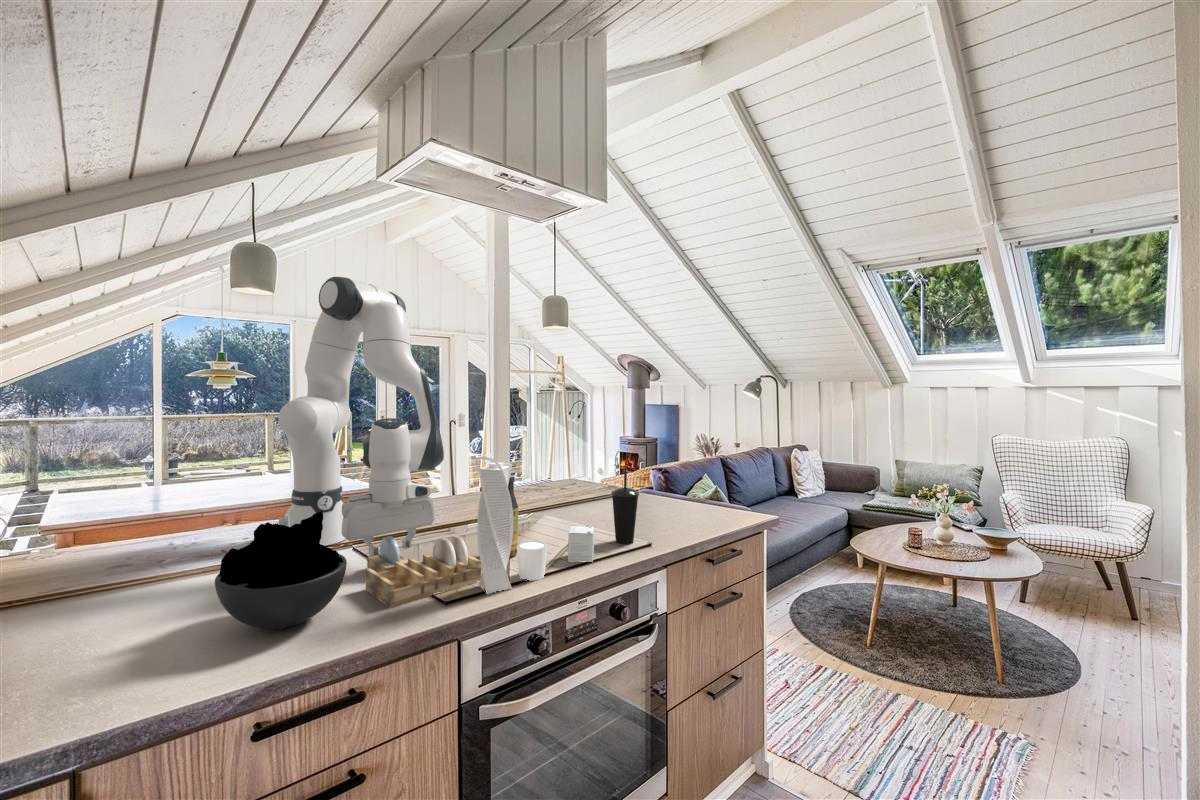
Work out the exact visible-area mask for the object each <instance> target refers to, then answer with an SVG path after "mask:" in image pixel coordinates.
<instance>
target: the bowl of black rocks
mask: <svg viewBox="0 0 1200 800" xmlns="http://www.w3.org/2000/svg"><path fill="white" fill-rule="evenodd" d="M323 519H324V518H323V512H322V511H321V512H318V513H315V514H313V515H312V517H309V518H307V519H304V520H301V523H300V524H294V525H293V526H291V527H289V526H285V525H279V523H270V522H268V521H267V522H265V523H260V524H259V525H258V526H257V527H256V528H255V530H254V531H253V540H252V541H251V542H249V544H247V545H246V546H242V547H241V548H238V549H236V548H234V547H233V548H230V549H229V550H228V551H227V552H226V554H224V556H223V557H222V559H221V561H220V567H219V568H220V570H219V572H218V574H217V575H216V576H215V578H214V587H215V593H216V595H217V598H218V601H219V602H220V604H221V605H222V607H223V608H224V610H225V611H226V612H227V613H228V614H229V615H231V617H233V618H234V619H235V620H236V621H238V622H240V623H242V624H244V625H246V626H249V627H252V628H256V629H261V630H262V629H263V630H280V629H285V628H289V627H293V626H296V625H300V624H301V623H304V622H306V621H308V620H310V619H312V618H313V617H314V616H316V615H317V614H318V613H320V612H321V611H322V610H324V608H326V607H327V606H328V604H330V602H331V601H332V600H334V599H333V598H334V597H335V596H336V595H337V594H338V592H339V590H340V588H341V586H342V584H343V581H344V578H345V574H346V572H347V571H346V570H347V563H348V562H347V558H346V557H345V556H344V555H342V554H340V553H339V552H338V551H337V550H334V549H332V548H331V547H326V546H327V545H325V546H324V545H321V544H320V540H321V535H322V530H323V524H322V521H323Z"/></svg>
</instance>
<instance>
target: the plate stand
mask: <svg viewBox="0 0 1200 800" xmlns="http://www.w3.org/2000/svg"><path fill="white" fill-rule="evenodd" d="M366 559H367V560H366V563H367V565H366V566H367V567H366V568H371V569H372V570H374V571H375V572H377V573H379V572H383V571H387V570H391V569H395V565H392V564H391V563H389V562H387V561H386V560H384V559H382V558H381V557H380V553H378V555H375V556H370V555H369V556H366ZM400 562H401V563H403V564H405V565H406V566H407V565H408V558H405V557H403V556H401V555H400Z"/></svg>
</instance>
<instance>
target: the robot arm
mask: <svg viewBox="0 0 1200 800" xmlns="http://www.w3.org/2000/svg"><path fill="white" fill-rule="evenodd" d="M318 303H319V307H320V309H321V313H320V314H319V317H318V319H317V321H316V324H315V327H314V330H313V332H312V335H311V338H310V344H309V348H308V352H307V356H306V361H305V365H304V372H305V375H306V379H307V394H306V396H300V397H296V398H294V399H292V400H290V401H288V402H287V403H286V404H284V405H283V406H282V407H281V409H280V411H279V413H278V417H277V418H278V419H277V421H278V426H279V427H280V429H281V431H282V432H284V434H285V436H286V438H287V440H288V444H289V448H290V451H291V455H292V460H293V489H292V492H291V499H290V500H291V501H290V502H291V504H290V507H289V508H288V510H287V511H285V513H284V516H283V517H281V516H280V517H278V524H279V525H285V526H289V527H291V526H293V525H294V524H300V523H301V520H304V519H307V518H309V517H312V515H313V514H315V513H318V512H321V511H322V512H323V518H324V519H323V521H322V524H323V530H322V535H321V540H320V544H321V545H324V546H329V545H334V544H338V543H340V542H343V541H344V540H347V541H349V542H351V541H357V540H362V539H363V542H364V543H365V545H366V547H367V548H368V555H369V556H375V555H378V554H379V547H378V546H376V545H373V542H374V537H377V536H383V535H386V534H387V535H388V534H391V533H392V534H393V533H397V532H403V531H406V532H407V534H406V537H405V539H401V548H402V549H403V550H407V549H411V548H412V541H413V539H414V537H415V535H416V533H417V528H423V527H428V526H431V525H433V524H434V522H435V520H436V514H435V513H436V511H435V502H434V499H433V498H432V496H431V495H432V491H433V489H432V487H431V486H429V485H426V484H424V483H420V482H418V481H412V478H411V476H412V474H411V472H410V471H411V470H412V471H413V470H417V471H432V470H434V469H436V467H438V466H439V465H440V464H442V463H443V461H444V457H445V451H446V449H445V443H444V440H443V437H442V434H441V432H440V427H439V424H438V423H439V422H438V419H437V413H436V410H435V404H434V401H433V395H432V390H431V387H430V383H429V380H428V379H429V378H428V376H427V373H426V370H425V369H424V367H423V366H421V365H419V364H418V363H417V362H416V360H415V358H414V356H413V354H412V347H411V345H412V344H411V332H410V326H409V321H408V316H407V313H406V312H407V307H406V304H405V301H404V300H403V299H402V297H400V296H398V294H396V293H394V292H391V291H388V290H385V288H384V289H383V288H381V287H379V286H377V285H373V284H372V283H366V282H362V281H357V280H353V279H351V278H349V277H344V276H332V277H329V278H328V279H326V281H325V282H323V284H322V285H321V287H320V290H319V292H318ZM361 333H363V334H362V355H363V356H362V357H363V362H364V366H365V368H366V370H367V371H368V372H369V373H370V374H371V375H372V376H373V377H374V378H376V379H378V380H380V381H382V382H384V383H387V384H389V385H393V386H395V387H398V388H399V389H400V388H401V389H402V390H405V391H407V392H408V393H409V394H410V395H411V396H412V397H413V400H414V402H415V407H416V409H417V410H416V411H417V415H418V420H419V425H420V428H419V429H411V430H410V429H409V425H408V423H407V421H405V420H403V419H400V418H394V417H393V418H391V417H390V418H387V417H386V418H381V419H377V420H375V421H373V422H372V423H371V427H370V433H369V435H367V436H366V437H365V438H364V439H363V440H362V442H361V443H362V447H363V461H362V464H363V465H365V467H367V468H369V469H370V473H369V476H368V493H366V494H361V495H357V496H356V495H352V496H349V497H348V498H347V499H345V500H344V501H342V500H343V496H344V495H343V494H344V491H343V486H342V484H341V456H340V455H339V454H338V452H337V449H336V445H335V442H334V438H333V437H334V436H333V434H335V433H337V432H339V431H341V430H342V429H344V427H346V425H347V424H349V422H350V419H351V415H352V413H351V409H350V404H349V403H350V383H351V382H350V381H351V374H352V370H353V366H354V362H355V358H356V353H357V350H358V344H359V339H360V336H361Z"/></svg>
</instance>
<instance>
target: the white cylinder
mask: <svg viewBox="0 0 1200 800" xmlns="http://www.w3.org/2000/svg"><path fill="white" fill-rule="evenodd" d="M547 553H548V544H547V543H546V542H544V541H538V540H537V541H536V540H533V541H532V540H529V541H523V542H520V543H518V545H517V554H516V555H517V564H518V565H517V566H518V576H520V577H521V578H523V579H527V580H529V581H528V582H530V581H539V580H542V579H544V578H545V576H544V575H545V574H546V564H547V556H548V555H547ZM520 577H519V578H520ZM521 578H520V579H521ZM523 579H522V580H523ZM527 580H526V581H527Z"/></svg>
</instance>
